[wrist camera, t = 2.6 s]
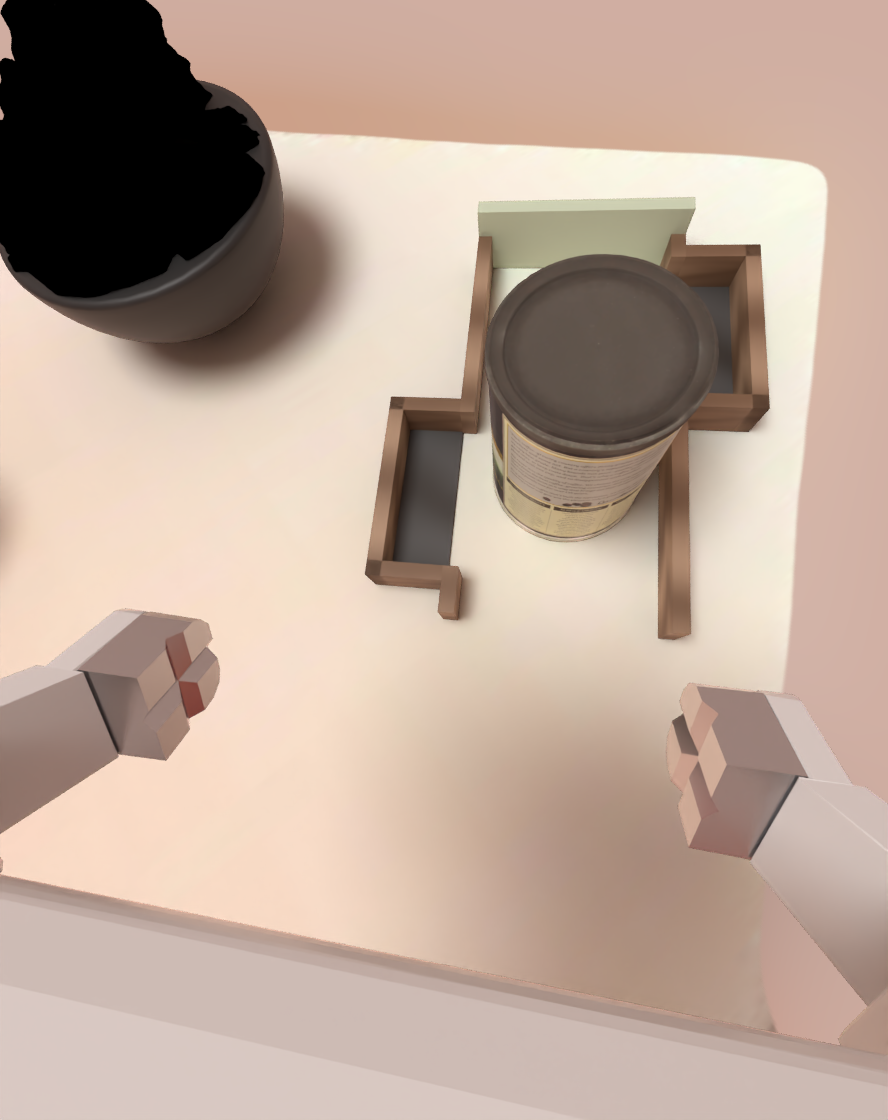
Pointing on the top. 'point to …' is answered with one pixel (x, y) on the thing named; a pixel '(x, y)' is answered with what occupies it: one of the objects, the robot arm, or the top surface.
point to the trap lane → (439, 423)
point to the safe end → (581, 228)
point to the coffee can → (591, 388)
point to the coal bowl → (130, 176)
